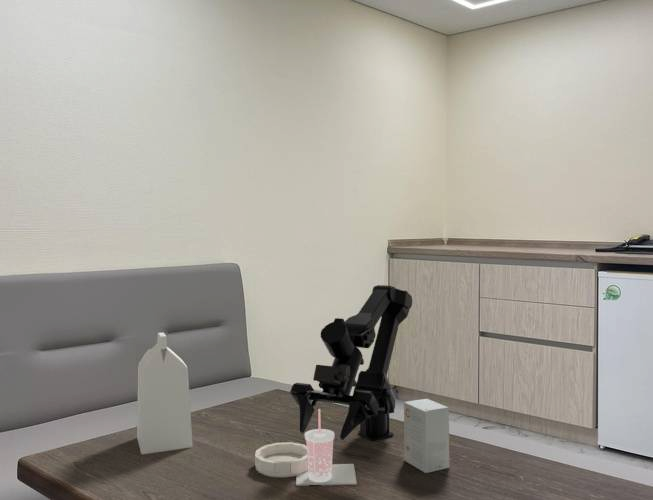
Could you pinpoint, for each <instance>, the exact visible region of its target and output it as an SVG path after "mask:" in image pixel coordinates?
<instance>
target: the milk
mask: <svg viewBox="0 0 653 500" xmlns="http://www.w3.org/2000/svg"><path fill="white" fill-rule="evenodd" d="M156 341H157V342H156V344H155V345H154V346H153V347H152V348H149V349H147V351H146V352H145V353H144V354H143V356H142V358H141V360H139V362H138V364H137V365H138V366H137V415H136V416H137V421H136V422H137V424H136V428H137V429H136V433H137V434H136V436H137V437H136V439H137V442H138V446H139V451H140V454H141V455H146V454H147V455H148V454H154V453H162V452H168V451H169V452H170V451H174V450H175V451H176V450H182V449H183V450H184V449H189V448H190V449H191V448H193V434H192V433H193V430H192V419H191V418H192V415H191V401H190V383H189V382H190V381H189V371H188V366H187V364H186V363H185V361H183V359H182V358H181V357H180V356H178V355H177V353H175V352H174V350H172V349H171V348H170V347H168V337H167V335H166V334H165V332H157V339H156Z"/></svg>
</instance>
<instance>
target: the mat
mask: <svg viewBox="0 0 653 500" xmlns="http://www.w3.org/2000/svg"><path fill="white" fill-rule="evenodd" d="M295 477H296V478H295V479H296V480H295V486H297V487H302V486H303V487H310V486H309V485H321V486H356V485H358V484H357V477H356V470H355V465H354V463H332V477H331V479H330V480H329V481H326V482H314V481H311V480H310V479H309V472H308V470H307V471H305V472H303V473H300V474H297V476H295Z"/></svg>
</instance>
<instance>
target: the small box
mask: <svg viewBox="0 0 653 500" xmlns="http://www.w3.org/2000/svg"><path fill="white" fill-rule="evenodd" d="M403 423H404V424H403V427H404V428H403V429H404V431H403V438H404V439H403V440H404V441H403V443H404V444H403V447H404V448H403V449H404V452H403V454H404V459H403V460H404V462H406V463H407V464H409V465H411V466H413V467H414V468H416V469H418V470H420V471H421V472H422V473H424V474H428V473H433V472H437V471H442V470H445V469H449V468H450V410H449V407H448V406H445V405H444V404H440V403H439V402H437V401H433V400H432V399H429V398H423V399H416V400H415V399H414V400H407V401H404V402H403Z"/></svg>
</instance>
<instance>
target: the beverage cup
mask: <svg viewBox="0 0 653 500" xmlns="http://www.w3.org/2000/svg"><path fill="white" fill-rule="evenodd" d="M317 410H318V412H317V414H318V416H317V418H318V421H317V422H318V423H317V424H318V425H317V426H318V428H315V429H309V430H306V432H304V440H305V442H306V444H305V445H306V446H307V458H308V472H309V479H310V480H311V481H314V482H326V481H329V480H330V479H331V477H332V464H333V456H334V455H333V454H334V439H335V438H336V437H335V435H336V434H335V431H333V430H330V429H327V428H322V427H321V425H322V423H321V422H322V419H321V418H322V416H321V408H318V409H317Z"/></svg>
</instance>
